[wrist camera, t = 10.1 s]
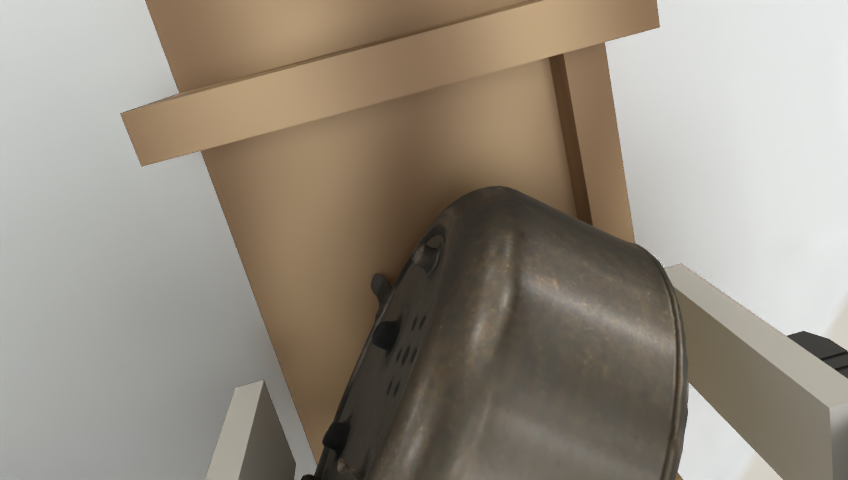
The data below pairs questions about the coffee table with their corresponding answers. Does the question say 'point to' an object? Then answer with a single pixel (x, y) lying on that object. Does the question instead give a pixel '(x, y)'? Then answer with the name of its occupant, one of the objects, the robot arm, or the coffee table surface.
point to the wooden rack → (379, 142)
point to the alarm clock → (516, 356)
